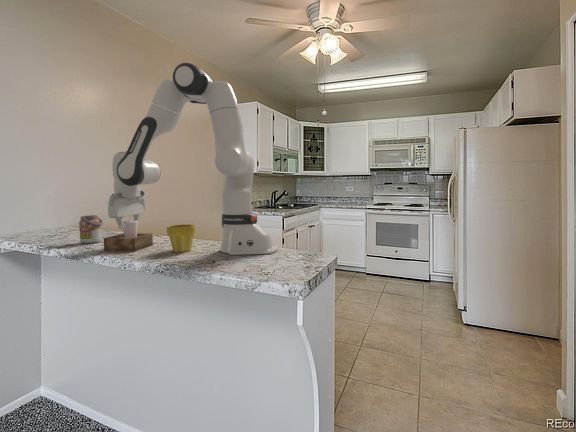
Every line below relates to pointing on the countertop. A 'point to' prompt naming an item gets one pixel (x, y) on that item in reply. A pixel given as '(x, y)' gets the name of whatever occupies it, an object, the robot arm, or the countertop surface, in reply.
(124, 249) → the box
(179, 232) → the plant pot
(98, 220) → the decorated jar
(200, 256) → the countertop surface
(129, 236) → the smoothie
